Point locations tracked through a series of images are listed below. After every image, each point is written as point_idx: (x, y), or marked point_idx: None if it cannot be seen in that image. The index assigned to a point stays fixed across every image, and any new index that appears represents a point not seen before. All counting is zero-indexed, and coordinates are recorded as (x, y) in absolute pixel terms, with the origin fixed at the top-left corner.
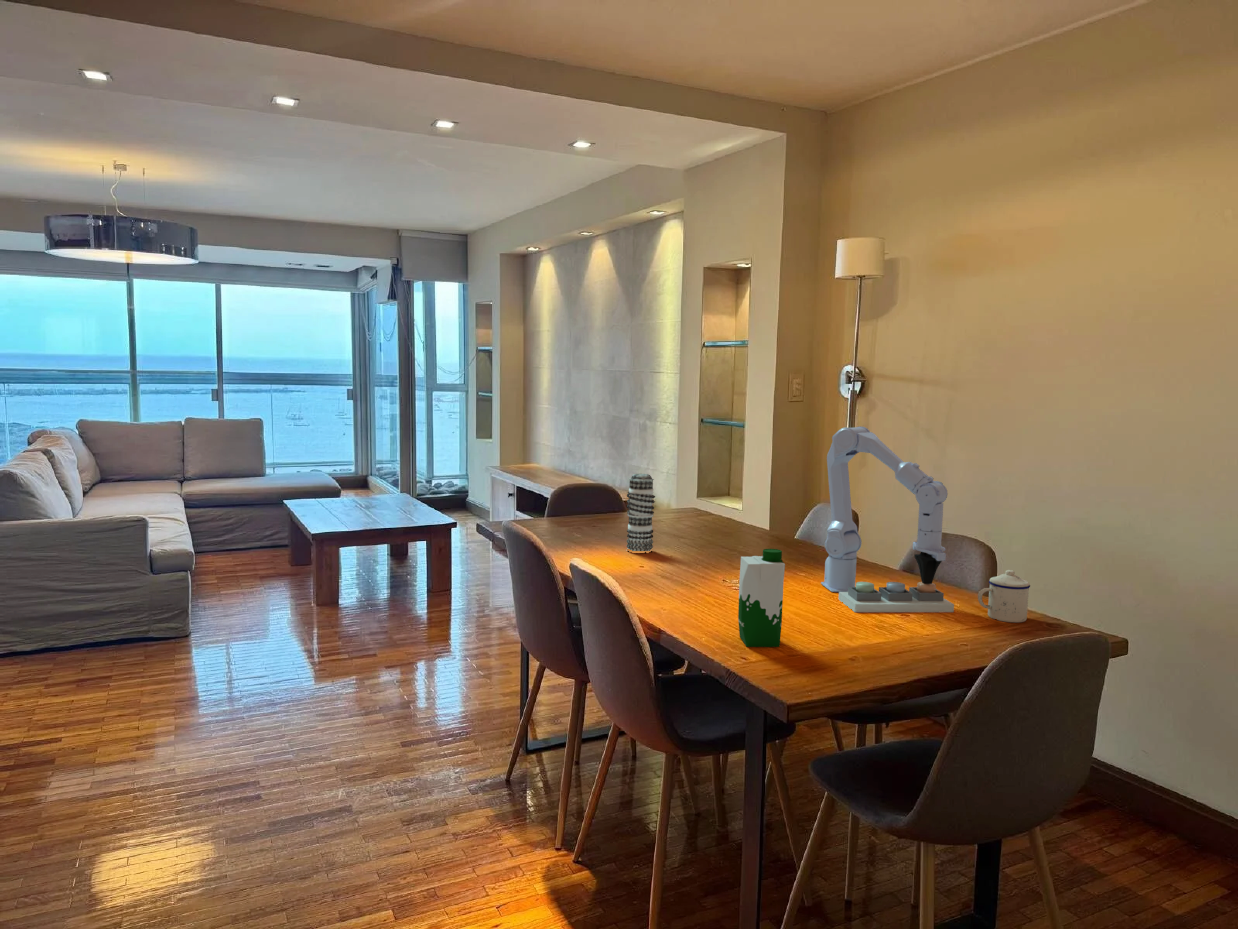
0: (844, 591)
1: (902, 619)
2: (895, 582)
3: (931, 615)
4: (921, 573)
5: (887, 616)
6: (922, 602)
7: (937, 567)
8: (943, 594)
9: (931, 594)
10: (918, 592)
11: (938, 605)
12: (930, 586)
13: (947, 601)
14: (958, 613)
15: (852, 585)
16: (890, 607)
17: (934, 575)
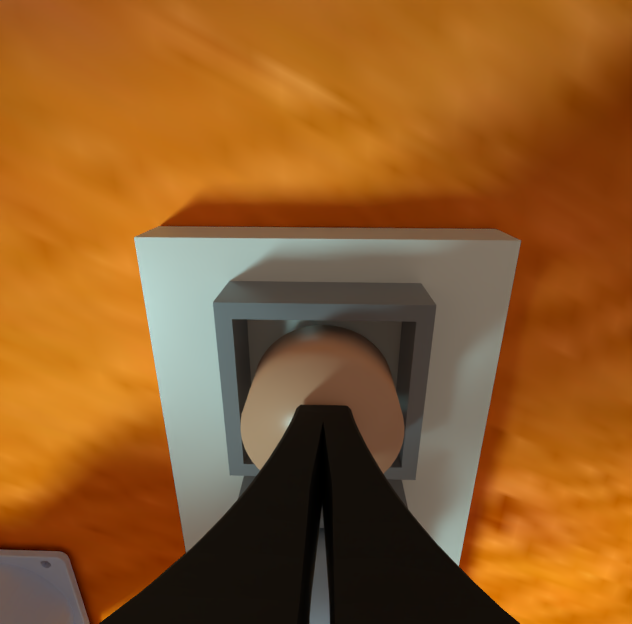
0: (83, 610)
1: (567, 547)
2: None
3: (533, 395)
4: (313, 564)
5: (505, 582)
6: (441, 435)
7: (437, 544)
8: (434, 303)
9: (421, 395)
10: (391, 478)
11: (494, 350)
12: (403, 431)
13: (436, 255)
14: (528, 206)
15: (38, 606)
16: None
17: (367, 451)
